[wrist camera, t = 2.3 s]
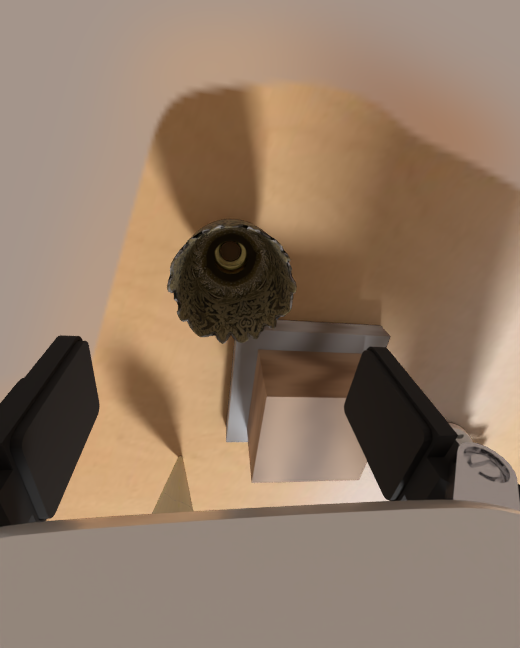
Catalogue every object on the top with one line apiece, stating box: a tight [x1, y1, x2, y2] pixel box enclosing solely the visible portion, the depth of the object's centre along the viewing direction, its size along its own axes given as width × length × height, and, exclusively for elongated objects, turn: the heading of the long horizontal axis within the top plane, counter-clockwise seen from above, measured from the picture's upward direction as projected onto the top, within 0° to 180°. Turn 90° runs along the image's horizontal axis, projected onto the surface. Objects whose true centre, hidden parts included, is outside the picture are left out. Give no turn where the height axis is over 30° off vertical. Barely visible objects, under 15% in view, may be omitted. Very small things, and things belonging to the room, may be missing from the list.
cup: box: [167, 219, 297, 344], centre depth 21 cm, size 8×7×8 cm
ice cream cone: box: [152, 456, 193, 514], centre depth 30 cm, size 5×5×15 cm
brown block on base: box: [226, 320, 390, 483], centre depth 29 cm, size 14×14×8 cm
